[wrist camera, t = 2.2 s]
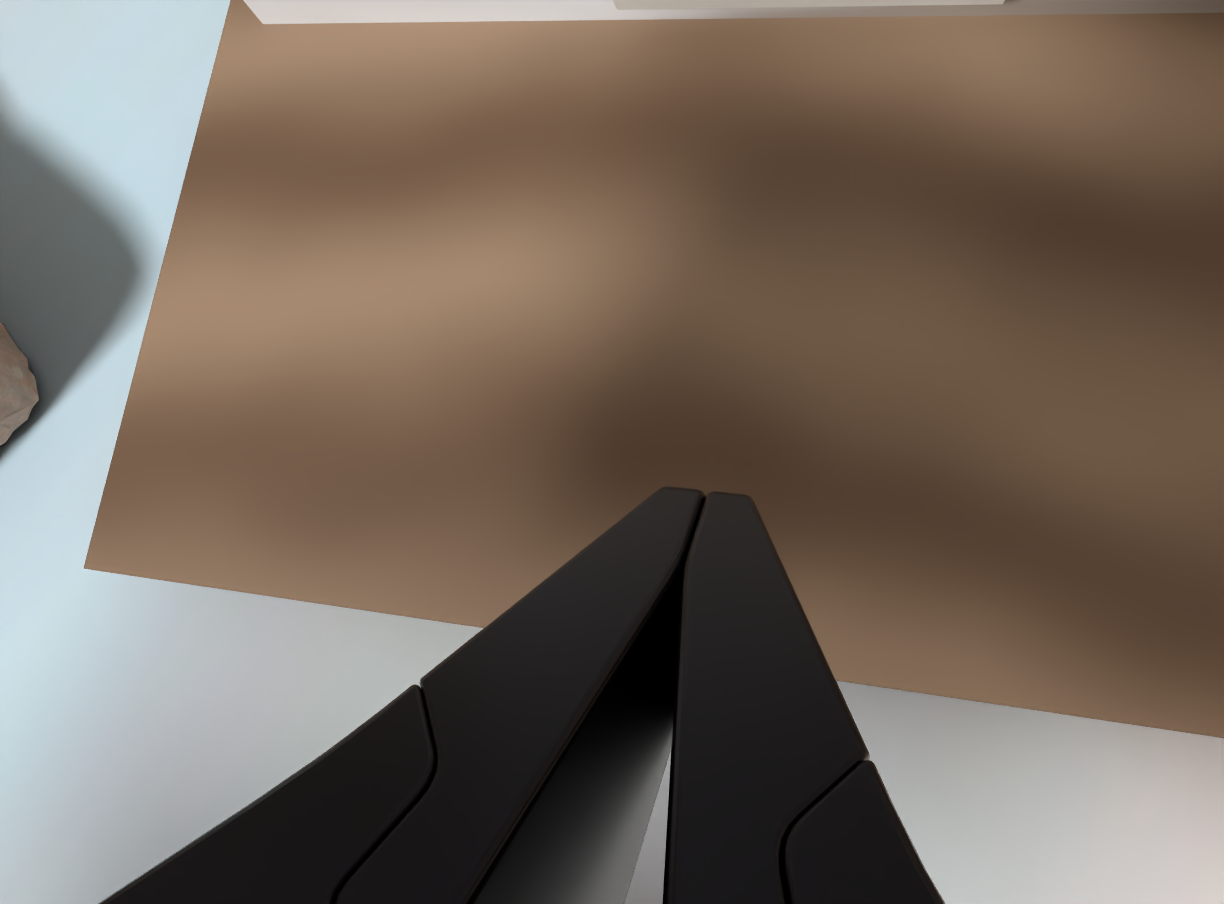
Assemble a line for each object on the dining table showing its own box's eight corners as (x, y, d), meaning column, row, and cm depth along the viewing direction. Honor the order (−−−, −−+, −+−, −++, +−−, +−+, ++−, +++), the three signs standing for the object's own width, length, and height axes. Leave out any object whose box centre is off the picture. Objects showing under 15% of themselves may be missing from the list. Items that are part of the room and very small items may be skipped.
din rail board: (1606, 792, 13) (1908, 846, 9) (126, 573, 18) (-24, 556, 15) (1525, -199, 16) (1723, -425, 13) (302, -132, 22) (212, -278, 19)
